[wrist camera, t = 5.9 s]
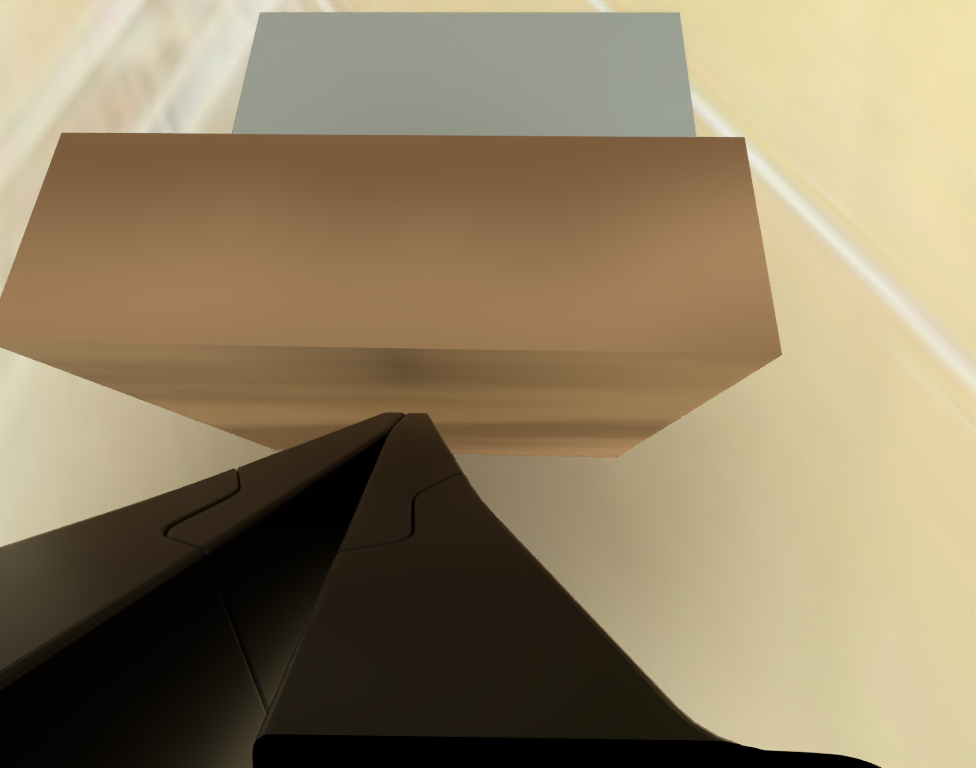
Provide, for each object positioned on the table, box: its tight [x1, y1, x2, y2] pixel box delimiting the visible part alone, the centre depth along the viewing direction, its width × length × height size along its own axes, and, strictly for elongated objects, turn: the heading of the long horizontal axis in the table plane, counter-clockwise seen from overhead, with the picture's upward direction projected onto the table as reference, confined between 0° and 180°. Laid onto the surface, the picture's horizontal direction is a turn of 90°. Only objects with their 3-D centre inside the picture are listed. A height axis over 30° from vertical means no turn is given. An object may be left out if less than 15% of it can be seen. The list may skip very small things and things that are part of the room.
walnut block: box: [0, 133, 782, 457], centre depth 12 cm, size 4×12×10 cm, turn 89°
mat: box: [232, 13, 696, 137], centre depth 20 cm, size 16×20×1 cm
